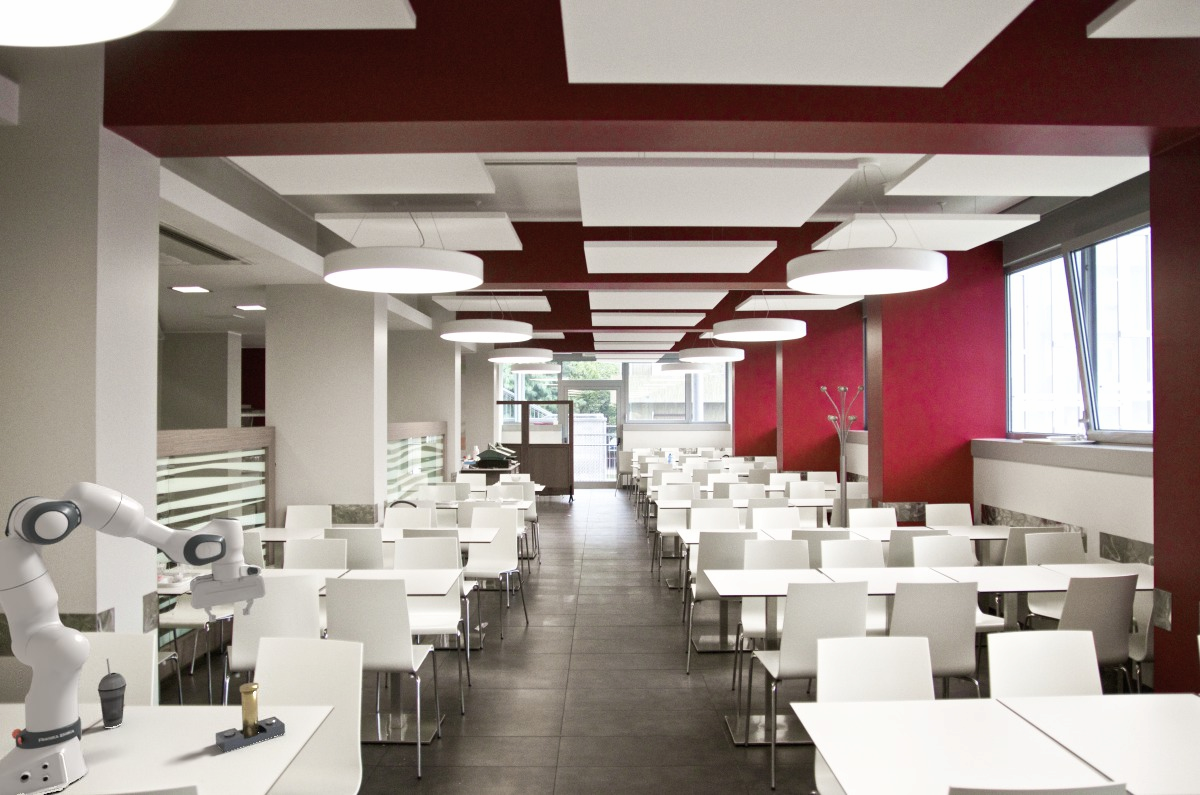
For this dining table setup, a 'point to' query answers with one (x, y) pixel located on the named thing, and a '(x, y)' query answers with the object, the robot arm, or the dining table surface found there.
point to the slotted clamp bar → (236, 739)
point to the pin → (249, 709)
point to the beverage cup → (112, 698)
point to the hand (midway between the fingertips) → (229, 618)
